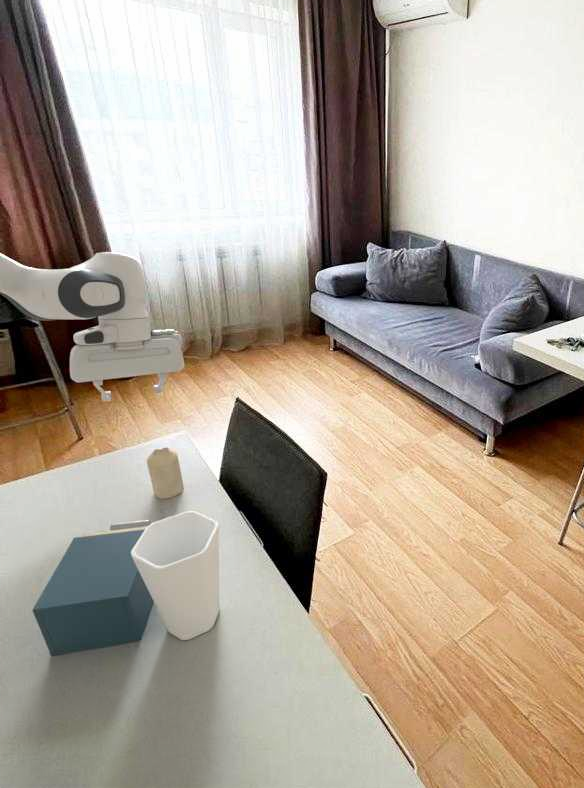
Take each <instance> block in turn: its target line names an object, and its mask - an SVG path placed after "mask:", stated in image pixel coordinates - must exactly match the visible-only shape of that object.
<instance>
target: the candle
mask: <svg viewBox="0 0 584 788" xmlns="http://www.w3.org/2000/svg"><path fill="white" fill-rule="evenodd" d="M146 464H147V468H148V473H149V478H150V480H151V481H150V482H151V486H152V490H153V494H154V497H156V498H157V499H161V500H166V499H167V500H168V499H171V498H174V497H177V496H178V495H180V494H181V493H182V492H183V490H184V487H185V486H184V481H183V476H182V471H181V466H180V465H181V464H180V460H179V456H178V453H177V451H175V450H173V449H171V448H168V447H167V446H166V447H163V448H161V449H159V448H157V449H154V450H153V451H152V452H151V453H150V454H149V456H148V457H146Z"/></svg>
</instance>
